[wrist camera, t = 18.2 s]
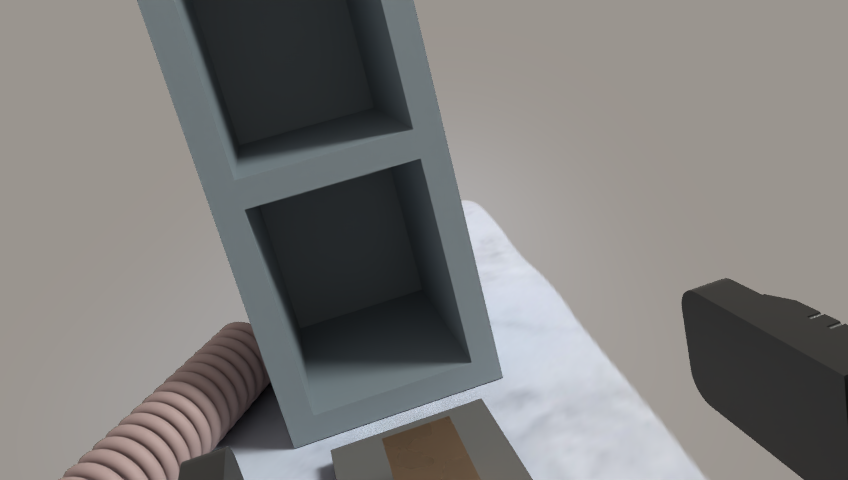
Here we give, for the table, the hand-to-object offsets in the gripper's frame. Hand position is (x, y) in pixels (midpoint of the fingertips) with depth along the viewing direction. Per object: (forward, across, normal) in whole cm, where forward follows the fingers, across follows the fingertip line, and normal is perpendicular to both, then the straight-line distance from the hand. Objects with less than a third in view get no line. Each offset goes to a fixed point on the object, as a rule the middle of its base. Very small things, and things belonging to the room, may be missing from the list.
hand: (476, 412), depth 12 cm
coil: (+27, +12, +14) cm, 33 cm away
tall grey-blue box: (+32, 0, +14) cm, 35 cm away
